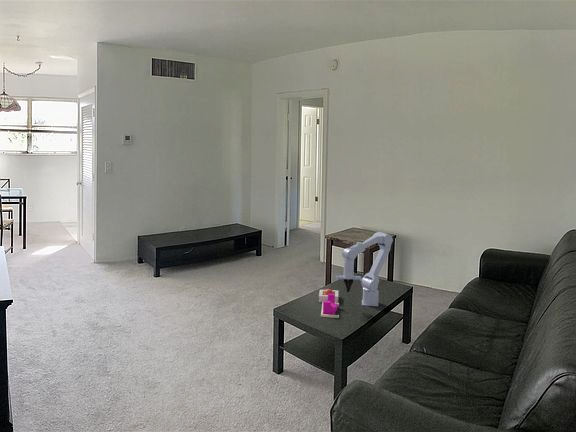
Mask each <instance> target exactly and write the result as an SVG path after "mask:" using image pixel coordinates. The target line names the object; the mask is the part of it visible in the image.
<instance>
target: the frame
mask: <svg viewBox="0 0 576 432" xmlns="http://www.w3.org/2000/svg"><path fill="white" fill-rule="evenodd" d="M335 304H338V305H337V307H338V306H340V303H339V302H338V303H335ZM320 317H321V318H333V319H334V318H336V319H340V315H339V314H335V315H327V314H323V302H321V311H320Z"/></svg>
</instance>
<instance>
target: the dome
mask: <svg viewBox="0 0 576 432" xmlns="http://www.w3.org/2000/svg"><path fill="white" fill-rule="evenodd" d="M324 290H325V291H324V292H323V295H328V294H335V293H334V292H333V291H332V290H333V289H330V288H326V289H324Z"/></svg>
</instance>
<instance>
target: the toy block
mask: <svg viewBox="0 0 576 432" xmlns="http://www.w3.org/2000/svg"><path fill="white" fill-rule="evenodd" d="M337 305H338V304H335V294H328V300H327V301H325V300H324V302H323V314H327V315H336V312H337V310H338V306H337Z"/></svg>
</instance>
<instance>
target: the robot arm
mask: <svg viewBox="0 0 576 432" xmlns="http://www.w3.org/2000/svg"><path fill="white" fill-rule="evenodd" d="M393 241H394V239H393V236H392V234H389V233H386V232H382V231H377V232H375V233H374V234H373V235H371V236H370V237H369V238H367V239H366V240H364V241H363V242H361V241H359V242H358V241H357V242H356V243H355V244H354V245H351V246H350V247H346V248H344V250H343V252H341V253H342V254H341V255H342V257H343V275H335V280H336V281H337V280H338V281H339V280H343V282H344V285H345V289H346V292H347V293H350V291H351V287H352V285H353V283H354V281H360V285H361V286H362V300H361V306H367V307H370V306H371V307H379V302H380V299H379V293H380V292H379V289H378V287H379V283H380V279H379V274H380V273H381V270H382V268H383V266H384V264H385V262H386V260H387V257H389V253H390V251H391V247H392V244H393ZM374 244H378V246H379V251H378V253H377V255H376V258H375V259H374V262H373V263H372V265H371V268H370V270H369V272H367V273H365V274H364V276H363V277H362V275H354V274H355V273H354V272H355V271H354V270H355V269H354V268H355V259H356V258H357V256H358V255H360V254H362V253H363V252H365V251H366V248H368V247H370V246H372V245H374Z"/></svg>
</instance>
